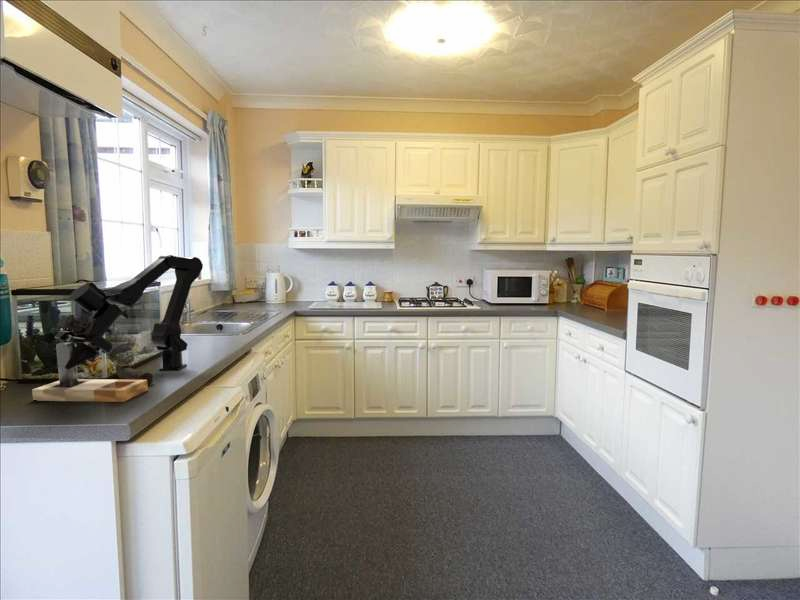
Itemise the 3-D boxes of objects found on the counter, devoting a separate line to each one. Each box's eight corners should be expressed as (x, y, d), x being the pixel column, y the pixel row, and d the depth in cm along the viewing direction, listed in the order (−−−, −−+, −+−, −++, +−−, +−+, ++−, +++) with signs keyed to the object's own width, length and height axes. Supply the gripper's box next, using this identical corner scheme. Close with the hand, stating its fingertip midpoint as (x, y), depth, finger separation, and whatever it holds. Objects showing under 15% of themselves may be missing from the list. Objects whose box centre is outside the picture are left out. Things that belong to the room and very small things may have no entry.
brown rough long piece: (153, 384, 130) (153, 369, 129) (139, 387, 127) (138, 372, 126) (127, 374, 141) (126, 360, 141) (113, 377, 138) (112, 363, 138)
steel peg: (68, 387, 122) (64, 342, 120) (82, 388, 121) (78, 342, 120) (56, 392, 118) (52, 345, 116) (70, 392, 117) (66, 345, 116)
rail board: (64, 389, 125) (63, 378, 125) (147, 390, 123) (147, 379, 123) (33, 400, 115) (32, 389, 115) (123, 401, 114) (122, 390, 113)
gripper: (59, 303, 125) (16, 348, 116) (98, 305, 117) (54, 354, 108) (91, 326, 133) (52, 370, 124) (129, 330, 124) (91, 377, 116)
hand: (61, 367), depth 118 cm, fingers closed on steel peg, 4 cm apart
